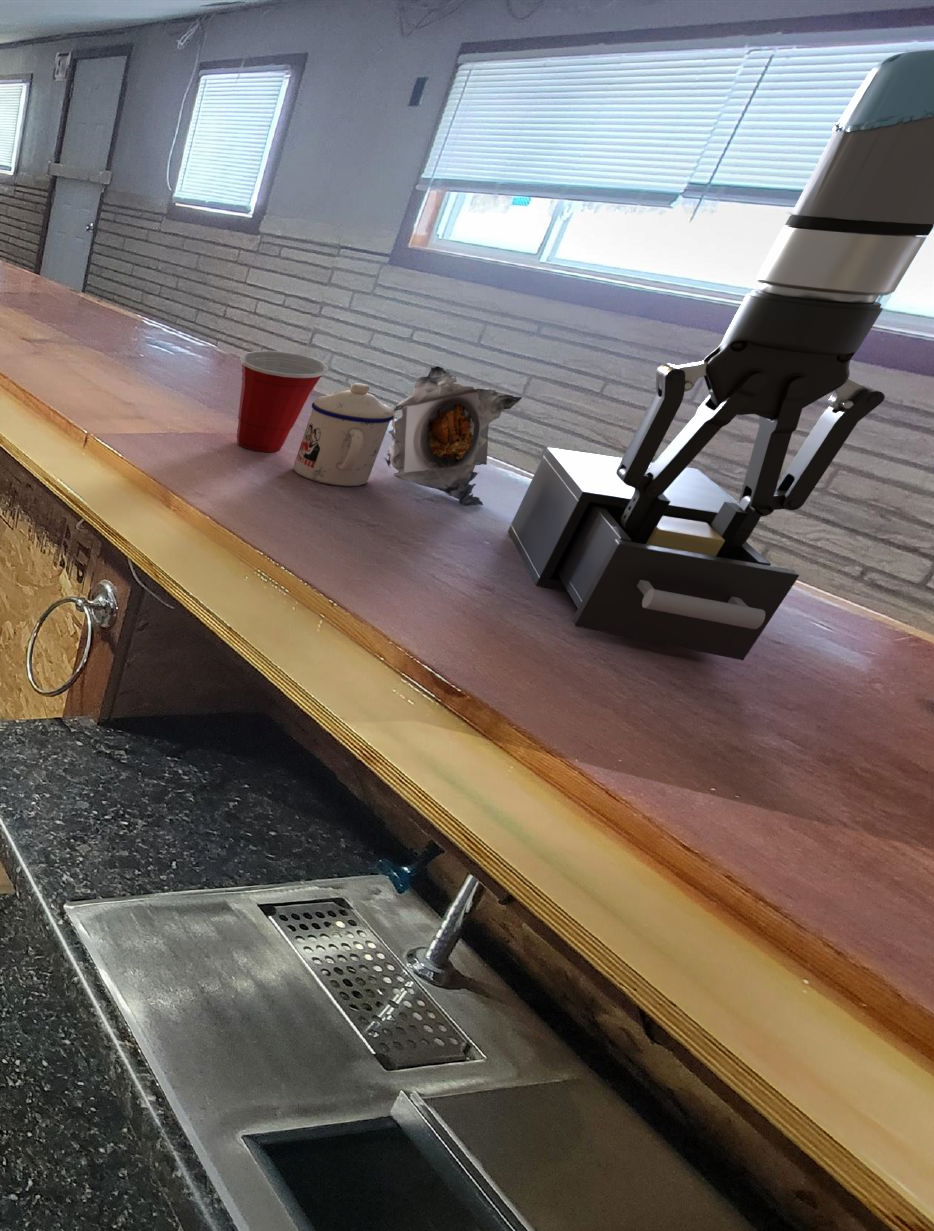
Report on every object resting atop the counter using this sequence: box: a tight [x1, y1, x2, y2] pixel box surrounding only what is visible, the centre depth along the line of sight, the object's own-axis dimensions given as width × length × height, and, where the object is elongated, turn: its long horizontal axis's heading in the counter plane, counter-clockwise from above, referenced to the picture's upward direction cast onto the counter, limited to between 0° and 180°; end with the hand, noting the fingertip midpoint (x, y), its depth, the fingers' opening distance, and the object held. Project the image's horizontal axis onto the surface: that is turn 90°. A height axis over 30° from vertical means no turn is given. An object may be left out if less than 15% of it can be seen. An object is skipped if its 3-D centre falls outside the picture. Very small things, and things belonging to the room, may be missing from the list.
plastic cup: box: [236, 350, 329, 453], centre depth 122 cm, size 11×11×12 cm
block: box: [646, 516, 725, 556], centre depth 79 cm, size 4×4×4 cm
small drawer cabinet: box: [507, 446, 761, 592], centre depth 90 cm, size 16×13×10 cm
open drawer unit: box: [555, 502, 800, 661], centre depth 79 cm, size 19×12×8 cm, turn 154°
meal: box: [383, 365, 523, 506], centre depth 111 cm, size 15×4×13 cm, turn 8°
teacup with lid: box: [293, 382, 395, 487], centre depth 111 cm, size 12×9×12 cm
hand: (658, 569), depth 80 cm, fingers closed on block, 4 cm apart
